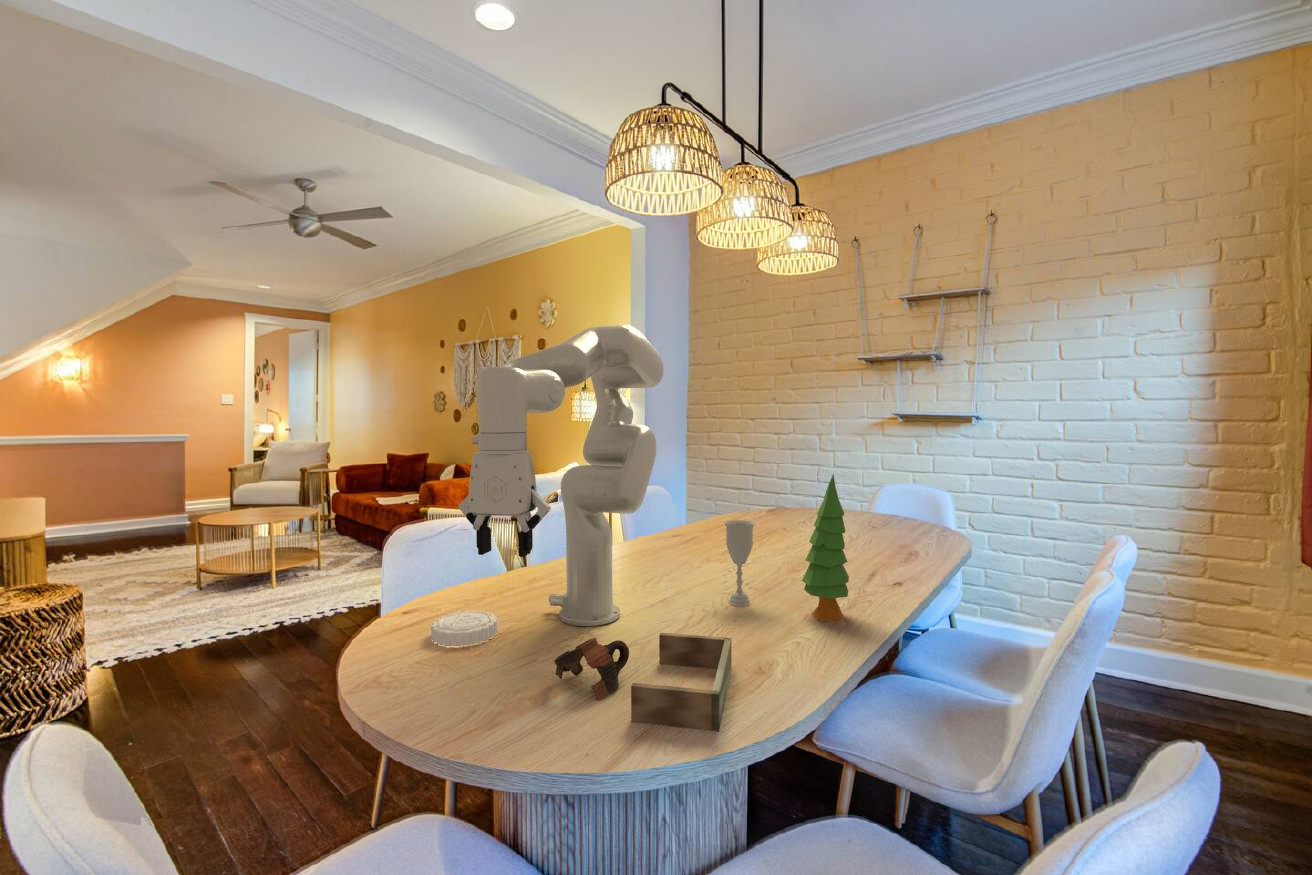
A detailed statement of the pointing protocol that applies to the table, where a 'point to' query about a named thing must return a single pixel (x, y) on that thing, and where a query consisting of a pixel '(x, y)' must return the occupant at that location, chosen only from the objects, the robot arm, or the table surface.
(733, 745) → the table surface
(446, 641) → the mooncake
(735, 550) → the chalice
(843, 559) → the decorative tree
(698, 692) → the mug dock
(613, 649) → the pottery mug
